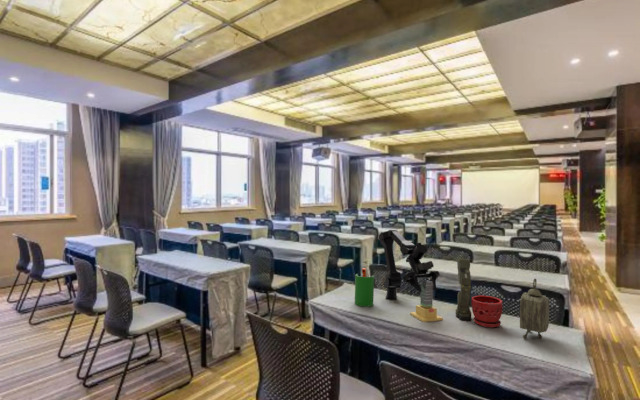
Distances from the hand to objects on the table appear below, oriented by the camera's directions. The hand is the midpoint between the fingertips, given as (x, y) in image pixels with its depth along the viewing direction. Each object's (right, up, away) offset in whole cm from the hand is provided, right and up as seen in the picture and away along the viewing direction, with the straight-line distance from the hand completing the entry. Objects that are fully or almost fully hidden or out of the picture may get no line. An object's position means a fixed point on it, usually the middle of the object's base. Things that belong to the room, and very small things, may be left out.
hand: (428, 291), depth 167 cm
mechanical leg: (+18, -14, +4) cm, 23 cm away
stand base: (-1, -13, +1) cm, 13 cm away
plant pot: (+25, -14, -6) cm, 29 cm away
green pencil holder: (-29, -13, +20) cm, 37 cm away
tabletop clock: (+39, -14, -20) cm, 46 cm away
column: (-1, -7, +1) cm, 8 cm away
